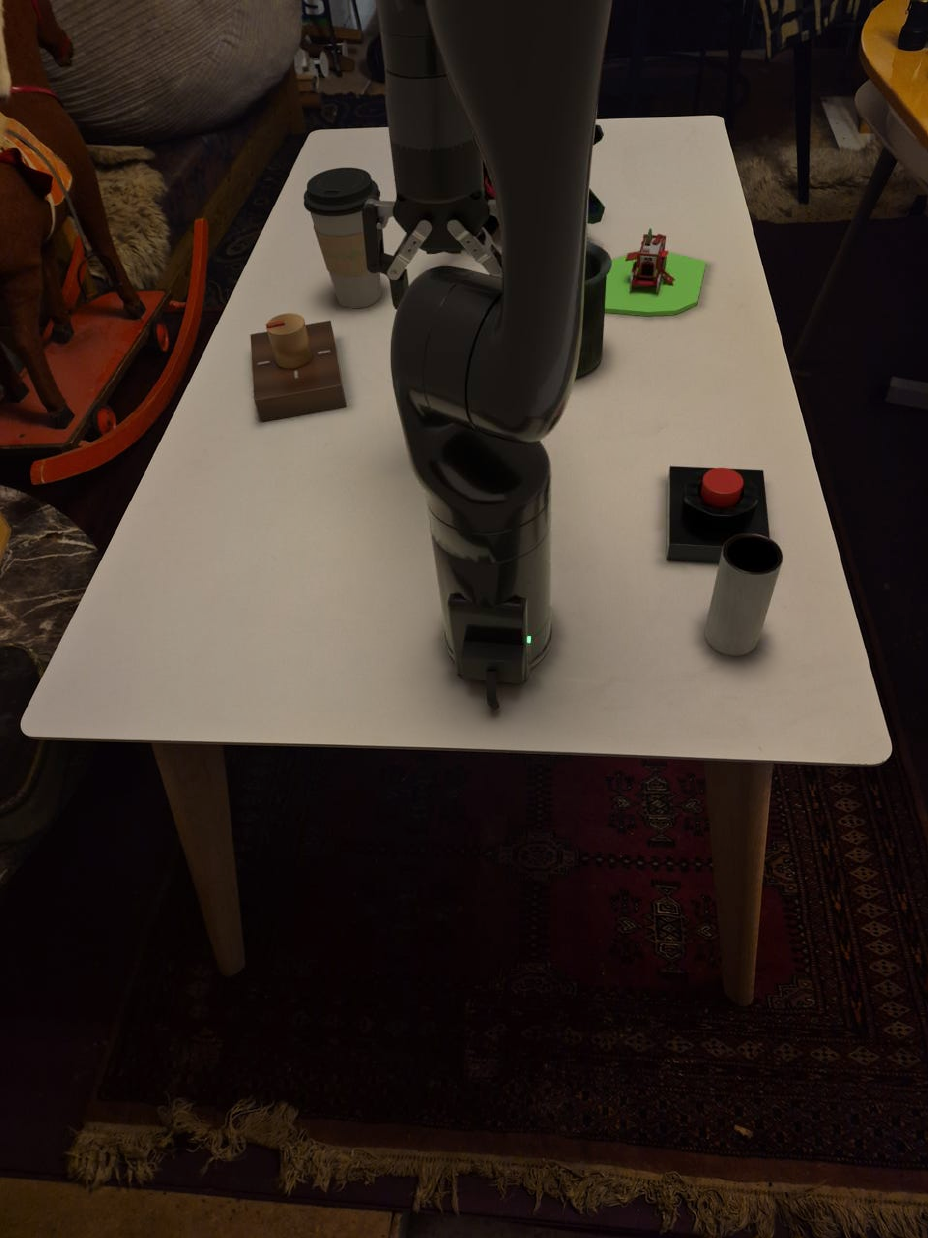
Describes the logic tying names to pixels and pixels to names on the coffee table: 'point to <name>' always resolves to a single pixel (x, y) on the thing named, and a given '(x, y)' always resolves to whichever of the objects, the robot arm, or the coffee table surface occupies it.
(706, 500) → the button
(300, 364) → the knob
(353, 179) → the coffee cup
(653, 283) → the toy diorama
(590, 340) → the mug
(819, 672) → the coffee table surface
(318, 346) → the panel
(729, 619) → the planter
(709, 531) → the button block
